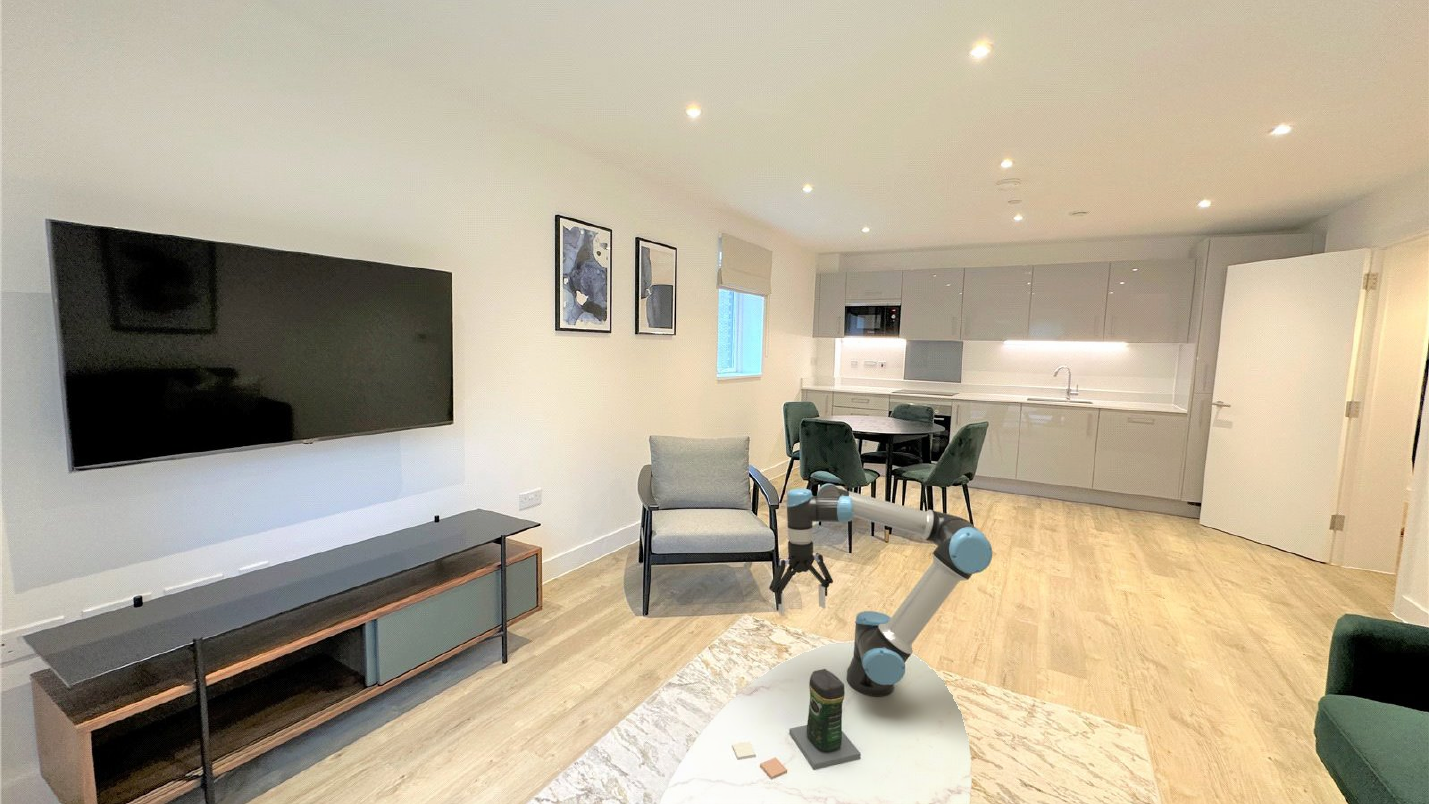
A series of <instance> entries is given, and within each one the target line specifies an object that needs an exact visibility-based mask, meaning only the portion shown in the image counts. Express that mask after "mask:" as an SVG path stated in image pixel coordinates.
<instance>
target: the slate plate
mask: <svg viewBox="0 0 1429 804" xmlns="http://www.w3.org/2000/svg"><path fill="white" fill-rule="evenodd" d="M788 734H789V736H791V738H792V740H793V741H794V743H795V744H796V746H797V747H798V749H799V750H800V751H801V753H802V754H803V756H804V758H805V759H806V761H807V762H808V763H809V765H810V767H811V768H812V770H818V769H821V768H826V767H830V766H835V765H840V764H844V763H847V762H852V761H857V760H860V759H861V757H862V756H861V754H862V753H861V752H860V751H859V749H858V748H857V747H856V746H855V744H854V743H853V742H852V741H851V740H850V739H849V737H848V736H847V735H846V733H845V732H844V731H843V730H842V742H841V746H840V747H839V748H838V749H836V750H834V751H821V750H819V749H818V748H817V747H816V746H815V745H814V744H813V743H812V742H811V740H810V739H809V737H808V736H807V724H806V725H801V726H796V727H790V728H789V733H788Z"/></svg>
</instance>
